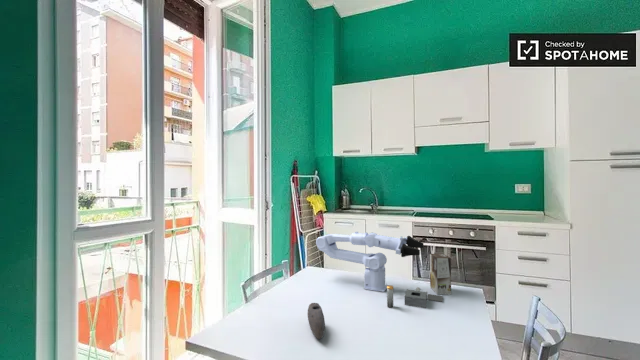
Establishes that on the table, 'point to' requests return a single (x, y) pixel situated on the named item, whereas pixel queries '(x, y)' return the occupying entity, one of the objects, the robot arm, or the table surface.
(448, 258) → the coffee box
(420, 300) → the block
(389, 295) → the key peg
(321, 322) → the perforated stone tool
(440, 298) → the mat
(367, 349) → the table surface
